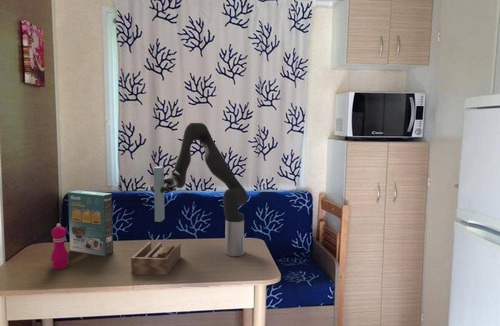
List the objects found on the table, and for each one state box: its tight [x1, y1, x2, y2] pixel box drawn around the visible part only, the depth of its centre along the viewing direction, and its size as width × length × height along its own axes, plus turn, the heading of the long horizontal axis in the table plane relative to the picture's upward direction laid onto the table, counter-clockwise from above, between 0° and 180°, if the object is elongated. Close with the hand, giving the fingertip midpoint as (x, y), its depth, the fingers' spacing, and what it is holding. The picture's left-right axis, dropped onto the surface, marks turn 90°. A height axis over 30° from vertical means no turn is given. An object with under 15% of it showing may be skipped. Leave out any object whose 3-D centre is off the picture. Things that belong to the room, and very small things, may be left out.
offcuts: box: [152, 243, 175, 258], centre depth 187 cm, size 7×13×8 cm, turn 175°
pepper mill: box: [50, 222, 69, 270], centre depth 182 cm, size 7×7×20 cm
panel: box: [153, 165, 165, 223], centre depth 197 cm, size 3×6×26 cm, turn 175°
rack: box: [130, 241, 182, 276], centre depth 187 cm, size 16×23×7 cm
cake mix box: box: [67, 189, 114, 257], centre depth 203 cm, size 22×6×30 cm, turn 69°
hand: (157, 190), depth 194 cm, fingers closed on panel, 3 cm apart
